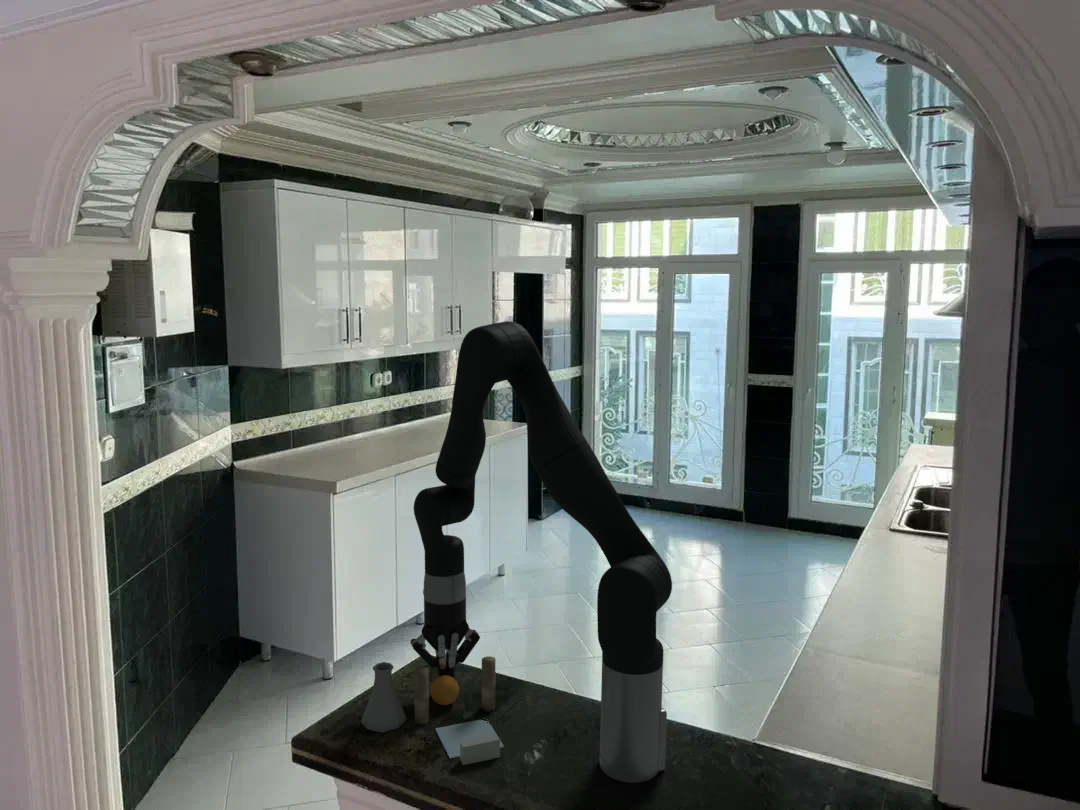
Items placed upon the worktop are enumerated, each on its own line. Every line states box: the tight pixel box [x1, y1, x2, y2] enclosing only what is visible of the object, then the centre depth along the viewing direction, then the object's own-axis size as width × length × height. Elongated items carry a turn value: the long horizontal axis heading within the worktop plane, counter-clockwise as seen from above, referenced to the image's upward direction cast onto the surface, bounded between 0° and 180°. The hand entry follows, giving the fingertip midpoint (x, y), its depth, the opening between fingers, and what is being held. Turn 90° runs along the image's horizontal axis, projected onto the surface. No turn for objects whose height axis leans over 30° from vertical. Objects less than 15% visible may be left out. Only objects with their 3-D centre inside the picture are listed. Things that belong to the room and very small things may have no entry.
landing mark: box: [434, 719, 505, 760], centre depth 130 cm, size 9×9×1 cm
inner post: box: [481, 656, 496, 710], centre depth 138 cm, size 2×2×9 cm
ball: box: [430, 675, 460, 706], centre depth 140 cm, size 5×5×5 cm
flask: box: [360, 661, 408, 734], centre depth 134 cm, size 7×7×10 cm
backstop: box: [459, 733, 501, 766], centre depth 124 cm, size 6×2×3 cm, turn 112°
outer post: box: [413, 667, 430, 725], centre depth 134 cm, size 2×2×9 cm
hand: (446, 685), depth 145 cm, fingers closed
